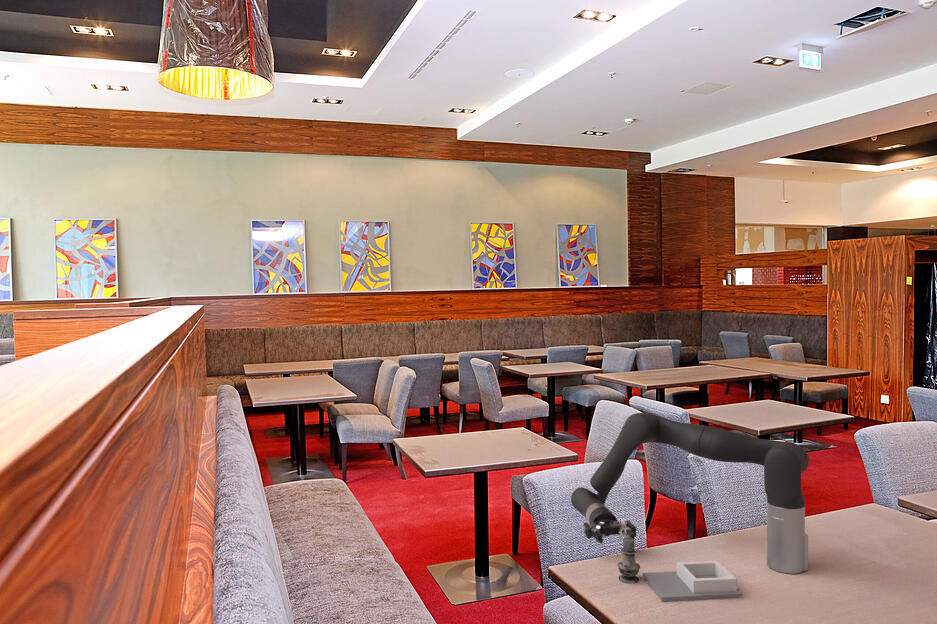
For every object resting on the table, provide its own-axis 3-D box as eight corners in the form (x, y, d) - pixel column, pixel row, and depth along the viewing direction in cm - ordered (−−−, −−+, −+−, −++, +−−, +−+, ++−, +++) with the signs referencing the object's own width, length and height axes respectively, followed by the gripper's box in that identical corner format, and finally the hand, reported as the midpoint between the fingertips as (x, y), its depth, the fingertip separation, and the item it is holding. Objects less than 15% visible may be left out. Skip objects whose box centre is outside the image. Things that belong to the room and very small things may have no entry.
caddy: (716, 573, 179) (716, 558, 178) (741, 597, 165) (741, 581, 165) (642, 576, 177) (642, 561, 177) (661, 601, 163) (661, 585, 163)
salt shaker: (641, 584, 172) (640, 538, 172) (617, 583, 174) (617, 537, 173) (639, 575, 178) (639, 530, 178) (617, 573, 179) (616, 528, 179)
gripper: (577, 507, 202) (591, 526, 186) (624, 505, 203) (642, 524, 187) (577, 532, 202) (591, 553, 186) (624, 530, 203) (642, 551, 187)
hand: (616, 539), depth 186 cm, fingers open, 8 cm apart
